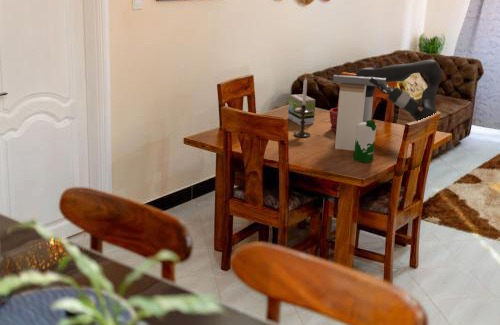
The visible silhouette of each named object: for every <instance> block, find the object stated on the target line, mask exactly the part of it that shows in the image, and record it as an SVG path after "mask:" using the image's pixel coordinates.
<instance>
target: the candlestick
mask: <svg viewBox="0 0 500 325" xmlns="http://www.w3.org/2000/svg"><path fill="white" fill-rule="evenodd" d="M307 92H308V80H307V72H304V79H303V88H302V94H303V100H302V104H301V106H302V107H298V108H294V110H293V111H294V112H295V113H298V114H302V121H300V123H301V125H299V126H300V131H295V132H293V136H294V137H295V138H301V139H307V138H310V137H311V133H310V132H307V131H304V129H305V127H306V126H305V125H304V124H305V121H304V115H305V114H312V113H313V112H314V110H313V109H311V108H306V106H308V105H306V96H307Z"/></svg>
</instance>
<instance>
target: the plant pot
mask: <svg viewBox="0 0 500 325" xmlns="http://www.w3.org/2000/svg"><path fill="white" fill-rule="evenodd" d="M337 117H338V107H334V108H331V109H330V110H329V120H330V124H331V126H330V129H331V131H333V132H336V130H337Z"/></svg>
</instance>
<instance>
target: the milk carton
mask: <svg viewBox="0 0 500 325" xmlns="http://www.w3.org/2000/svg"><path fill="white" fill-rule="evenodd" d="M377 129H378V124H376V121H374V120H372V119H371V120H368V121H367V123H366V122H362V123H359V124H357V125H356V140H355V150H354V153H353V160H354V161H356V162H357V161H358V162H361V163H365V164H367V163H369V162H371V161H373V160H374V154H375V145H376V144H375V142H376V133H377Z"/></svg>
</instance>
